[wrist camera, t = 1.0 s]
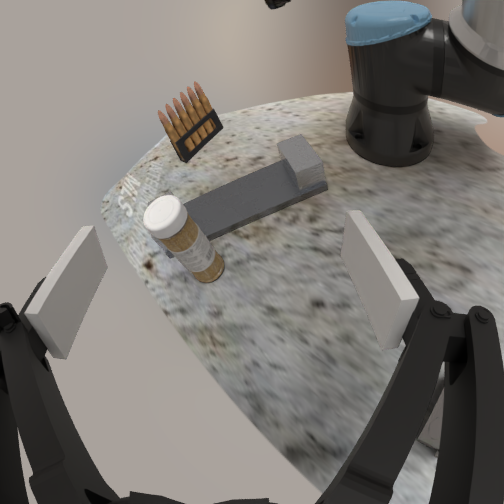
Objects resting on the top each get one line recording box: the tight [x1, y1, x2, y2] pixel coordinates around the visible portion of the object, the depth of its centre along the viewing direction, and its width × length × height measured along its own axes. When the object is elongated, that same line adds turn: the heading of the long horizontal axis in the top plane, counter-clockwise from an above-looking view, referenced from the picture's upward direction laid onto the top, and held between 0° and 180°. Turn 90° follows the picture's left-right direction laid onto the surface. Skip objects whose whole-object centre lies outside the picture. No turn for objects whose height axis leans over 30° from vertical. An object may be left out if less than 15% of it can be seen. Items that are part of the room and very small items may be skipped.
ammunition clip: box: [158, 82, 223, 163], centre depth 51 cm, size 11×2×12 cm, turn 140°
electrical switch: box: [417, 388, 444, 457], centre depth 21 cm, size 9×5×9 cm, turn 146°
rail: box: [148, 134, 328, 258], centre depth 44 cm, size 25×8×5 cm, turn 108°
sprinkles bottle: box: [143, 195, 224, 283], centre depth 36 cm, size 5×5×13 cm
